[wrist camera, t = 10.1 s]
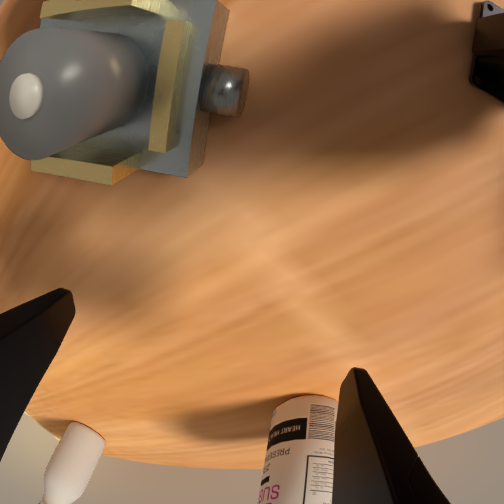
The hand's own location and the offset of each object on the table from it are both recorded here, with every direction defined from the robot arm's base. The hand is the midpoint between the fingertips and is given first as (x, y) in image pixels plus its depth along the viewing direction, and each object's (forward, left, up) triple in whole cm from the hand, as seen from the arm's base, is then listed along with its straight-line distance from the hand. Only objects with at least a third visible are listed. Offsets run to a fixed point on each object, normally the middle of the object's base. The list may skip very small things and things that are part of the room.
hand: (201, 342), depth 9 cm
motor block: (+10, -6, -13) cm, 17 cm away
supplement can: (-10, +22, -13) cm, 28 cm away
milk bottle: (+22, +50, -13) cm, 56 cm away
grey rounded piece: (+10, -6, -10) cm, 15 cm away
